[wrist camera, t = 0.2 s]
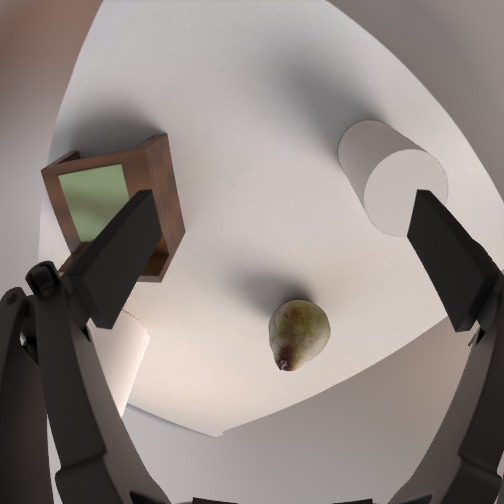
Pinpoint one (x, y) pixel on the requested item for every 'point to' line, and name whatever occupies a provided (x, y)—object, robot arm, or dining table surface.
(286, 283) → the dining table surface
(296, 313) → the fruit
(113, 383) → the canister
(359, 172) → the white round cylinder
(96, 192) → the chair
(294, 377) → the dining table surface
